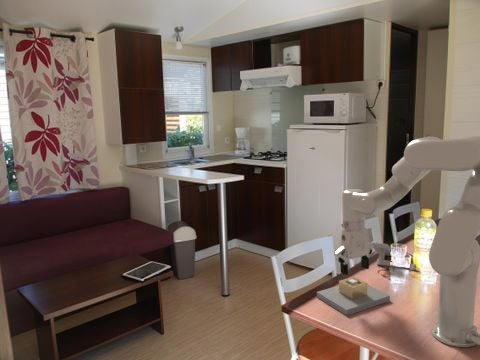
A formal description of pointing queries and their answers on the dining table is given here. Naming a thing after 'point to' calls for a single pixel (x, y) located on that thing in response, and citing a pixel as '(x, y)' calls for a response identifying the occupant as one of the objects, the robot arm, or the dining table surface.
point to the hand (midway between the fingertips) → (354, 270)
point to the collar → (353, 288)
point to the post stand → (349, 305)
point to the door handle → (385, 251)
